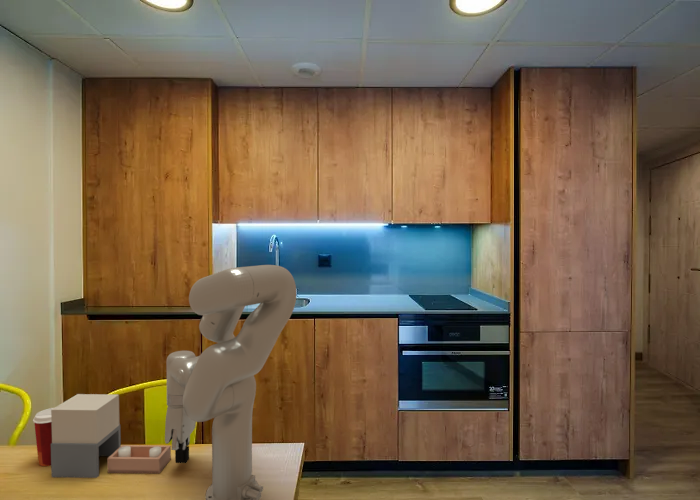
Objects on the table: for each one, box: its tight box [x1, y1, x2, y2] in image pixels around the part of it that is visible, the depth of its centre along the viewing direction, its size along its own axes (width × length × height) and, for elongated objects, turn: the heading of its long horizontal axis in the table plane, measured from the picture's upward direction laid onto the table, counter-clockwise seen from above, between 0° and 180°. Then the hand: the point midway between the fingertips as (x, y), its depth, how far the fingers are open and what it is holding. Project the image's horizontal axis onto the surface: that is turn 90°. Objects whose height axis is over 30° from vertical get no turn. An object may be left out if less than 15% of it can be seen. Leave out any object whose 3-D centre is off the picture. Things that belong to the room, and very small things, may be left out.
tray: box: [106, 444, 172, 475], centre depth 115 cm, size 14×7×5 cm, turn 90°
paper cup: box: [32, 407, 54, 467], centre depth 116 cm, size 8×8×14 cm
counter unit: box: [50, 393, 122, 479], centre depth 114 cm, size 12×11×18 cm
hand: (182, 461), depth 115 cm, fingers closed
